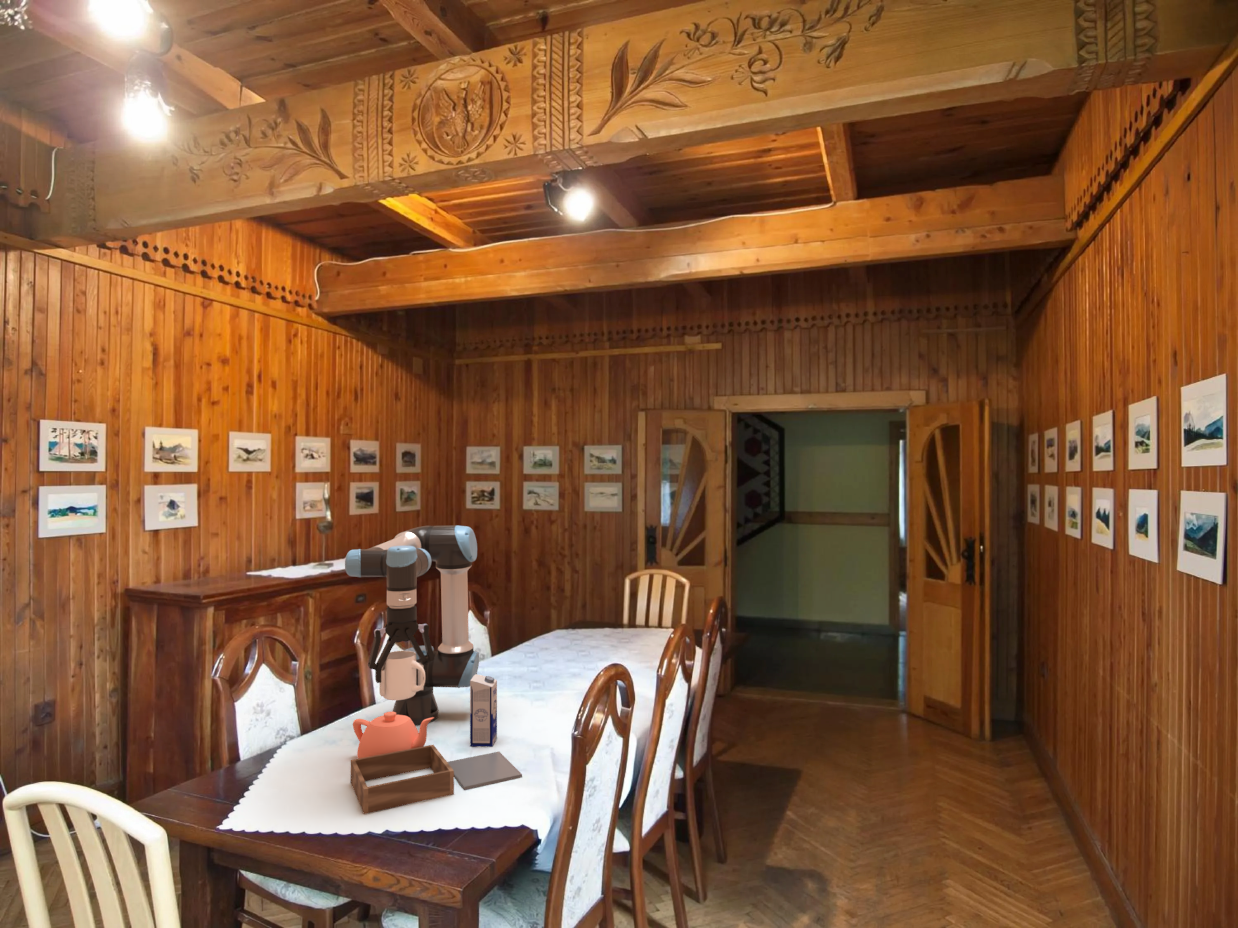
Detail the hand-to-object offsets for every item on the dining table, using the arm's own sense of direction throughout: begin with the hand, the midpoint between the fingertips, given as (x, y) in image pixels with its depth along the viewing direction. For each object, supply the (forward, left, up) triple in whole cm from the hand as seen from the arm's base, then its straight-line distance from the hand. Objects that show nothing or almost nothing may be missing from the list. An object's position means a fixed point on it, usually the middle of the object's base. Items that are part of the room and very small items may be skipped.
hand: (401, 691), depth 187 cm
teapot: (-20, +2, -25) cm, 32 cm away
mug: (0, +1, -2) cm, 2 cm away
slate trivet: (0, +22, -25) cm, 33 cm away
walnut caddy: (0, 0, -25) cm, 25 cm away
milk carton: (-20, +29, -25) cm, 43 cm away
